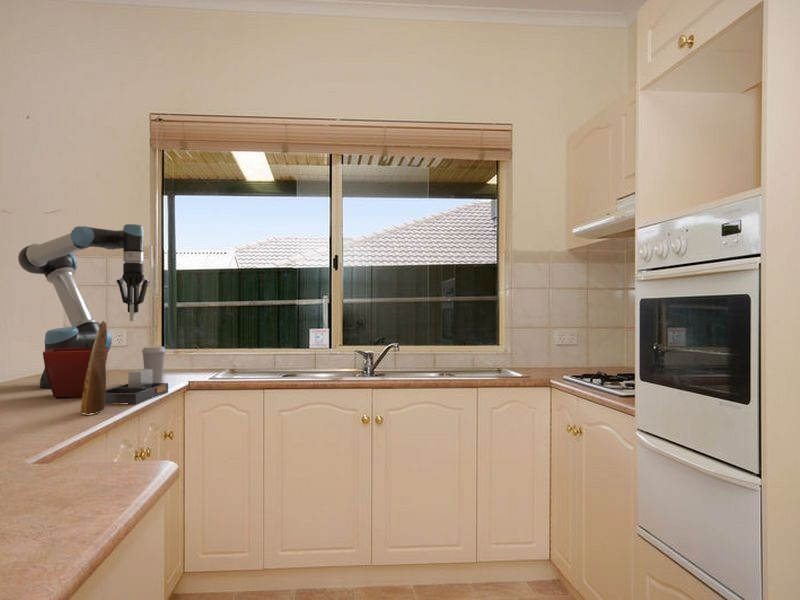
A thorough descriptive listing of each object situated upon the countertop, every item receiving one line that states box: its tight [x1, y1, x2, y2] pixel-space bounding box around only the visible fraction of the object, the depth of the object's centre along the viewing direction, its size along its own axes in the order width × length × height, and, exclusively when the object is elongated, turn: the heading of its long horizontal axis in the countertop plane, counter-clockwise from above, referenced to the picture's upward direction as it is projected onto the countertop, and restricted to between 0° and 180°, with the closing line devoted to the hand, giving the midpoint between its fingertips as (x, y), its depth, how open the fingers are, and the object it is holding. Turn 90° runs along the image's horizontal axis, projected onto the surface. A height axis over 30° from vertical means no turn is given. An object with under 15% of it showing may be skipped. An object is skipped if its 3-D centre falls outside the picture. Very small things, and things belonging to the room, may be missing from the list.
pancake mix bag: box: [80, 320, 108, 414], centre depth 191 cm, size 7×19×28 cm, turn 16°
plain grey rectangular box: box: [127, 368, 153, 388], centre depth 225 cm, size 4×10×8 cm, turn 179°
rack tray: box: [105, 382, 169, 405], centre depth 218 cm, size 15×28×4 cm, turn 179°
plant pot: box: [42, 347, 109, 398], centre depth 223 cm, size 19×19×17 cm
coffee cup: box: [141, 345, 166, 383], centre depth 260 cm, size 10×10×15 cm
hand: (132, 320), depth 249 cm, fingers closed
